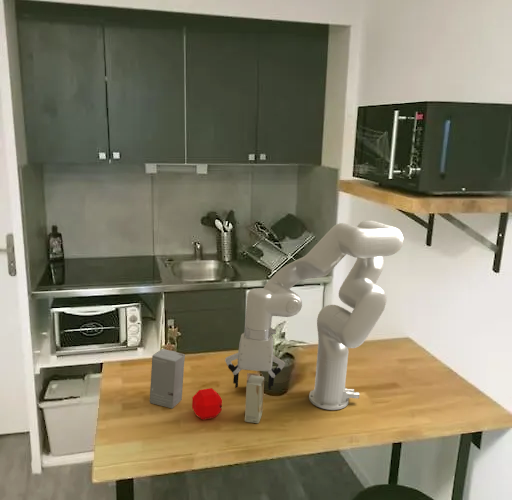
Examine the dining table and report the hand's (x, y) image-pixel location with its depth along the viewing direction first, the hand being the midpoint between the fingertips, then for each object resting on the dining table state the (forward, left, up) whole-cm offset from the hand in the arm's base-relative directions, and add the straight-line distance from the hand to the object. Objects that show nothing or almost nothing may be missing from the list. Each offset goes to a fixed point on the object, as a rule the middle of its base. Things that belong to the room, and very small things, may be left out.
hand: (252, 386), depth 154 cm
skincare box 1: (+26, -7, -10) cm, 29 cm away
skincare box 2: (-1, 0, -10) cm, 10 cm away
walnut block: (-1, -16, -10) cm, 19 cm away
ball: (+13, 0, -10) cm, 17 cm away
